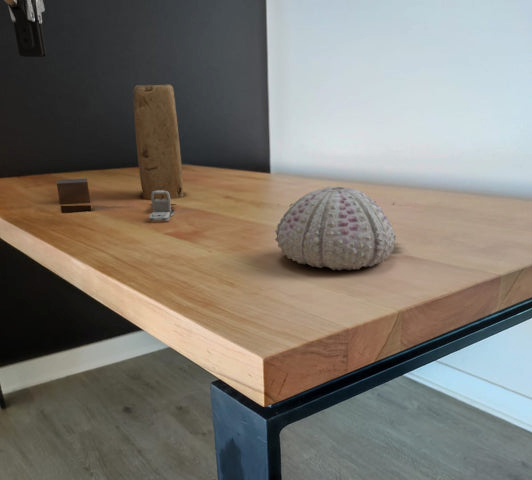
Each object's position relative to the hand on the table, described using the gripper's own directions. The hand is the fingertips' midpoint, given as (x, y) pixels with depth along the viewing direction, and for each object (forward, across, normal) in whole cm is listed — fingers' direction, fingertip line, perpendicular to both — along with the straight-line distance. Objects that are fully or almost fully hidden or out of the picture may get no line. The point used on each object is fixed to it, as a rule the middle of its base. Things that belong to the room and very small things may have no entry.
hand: (33, 56), depth 76 cm
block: (+23, -19, +12) cm, 32 cm away
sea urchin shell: (+23, +24, +41) cm, 53 cm away
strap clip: (+23, -4, +15) cm, 28 cm away
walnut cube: (+23, -12, -2) cm, 26 cm away
